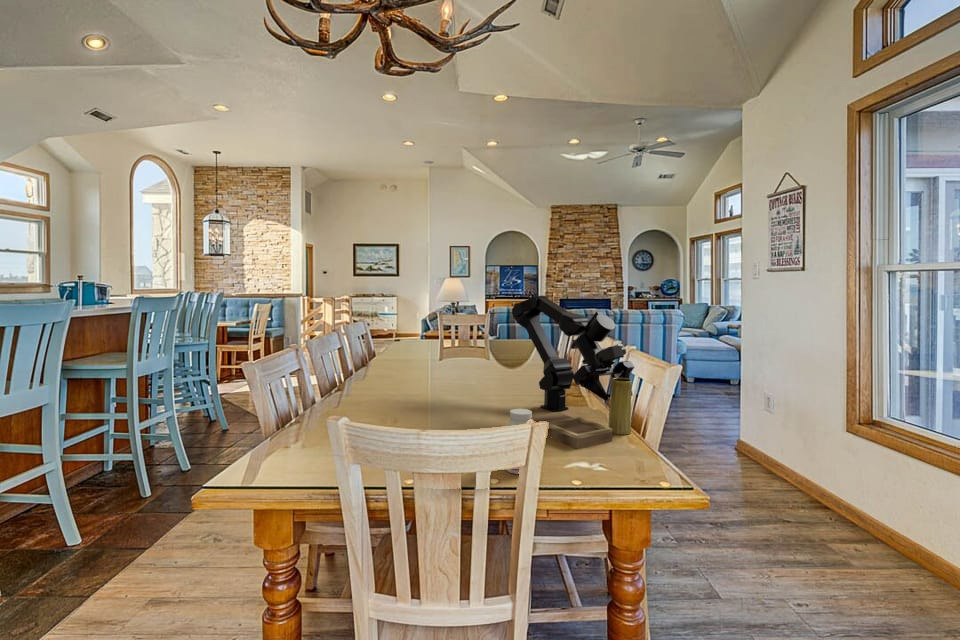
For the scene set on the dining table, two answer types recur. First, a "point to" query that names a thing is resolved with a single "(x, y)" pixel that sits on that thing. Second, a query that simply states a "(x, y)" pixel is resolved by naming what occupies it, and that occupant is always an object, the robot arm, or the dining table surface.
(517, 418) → the supplement bottle
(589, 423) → the wooden tray
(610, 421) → the vase
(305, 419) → the dining table surface
